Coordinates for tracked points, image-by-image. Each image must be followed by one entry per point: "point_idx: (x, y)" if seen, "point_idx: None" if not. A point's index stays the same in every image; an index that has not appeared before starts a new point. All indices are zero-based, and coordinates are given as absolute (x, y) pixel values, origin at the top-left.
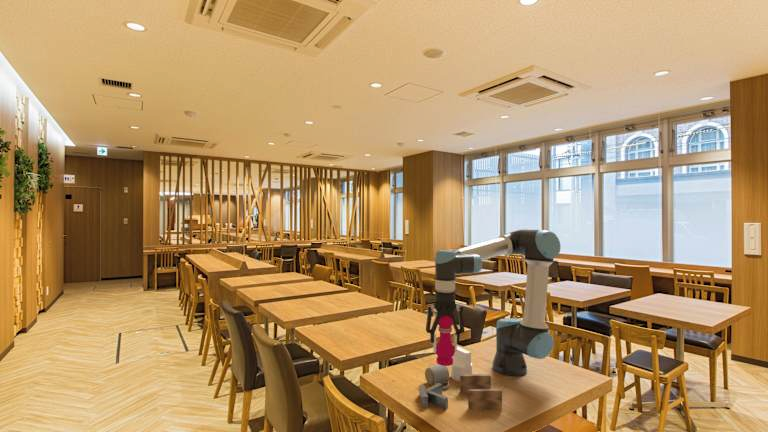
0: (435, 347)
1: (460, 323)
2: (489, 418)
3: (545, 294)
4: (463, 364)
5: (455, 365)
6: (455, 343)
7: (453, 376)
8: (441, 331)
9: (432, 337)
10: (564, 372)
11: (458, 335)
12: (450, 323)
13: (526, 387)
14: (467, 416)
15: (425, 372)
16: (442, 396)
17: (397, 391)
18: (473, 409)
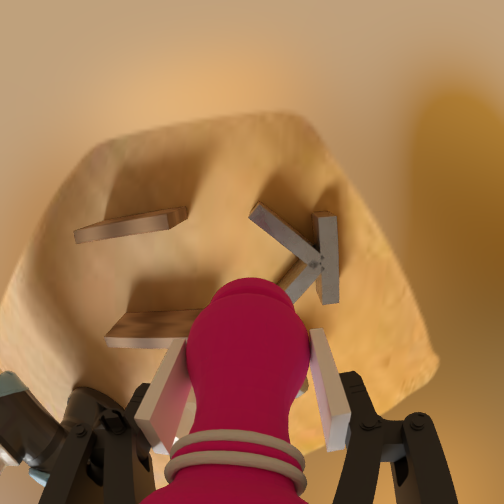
0: (319, 345)
1: (70, 486)
2: (137, 167)
3: None
4: (186, 411)
5: None
6: (165, 372)
7: None
8: (281, 445)
9: (357, 399)
10: (27, 382)
11: (127, 418)
12: None
13: (62, 337)
14: (194, 169)
15: (307, 383)
16: (266, 222)
17: (387, 305)
18: (173, 208)
